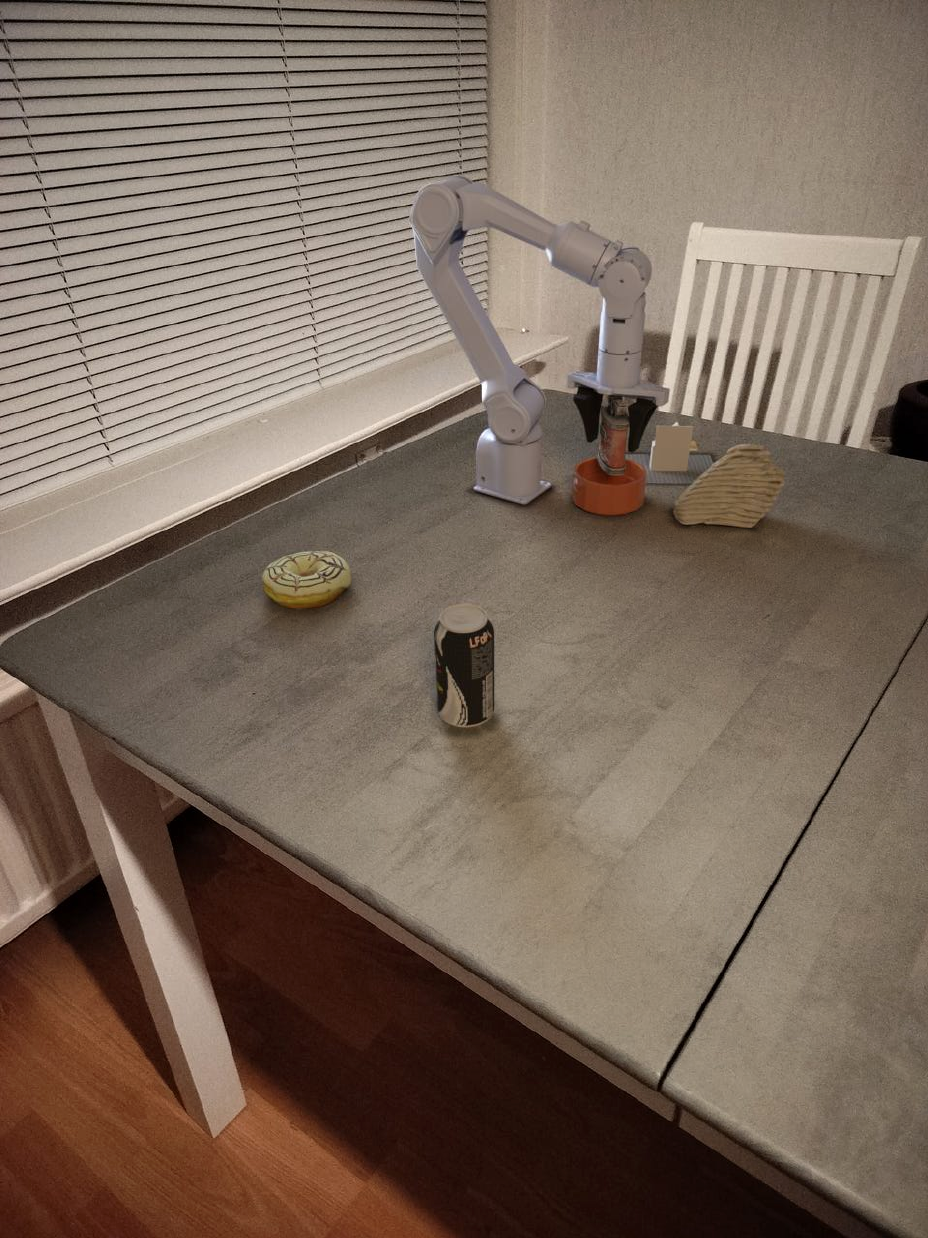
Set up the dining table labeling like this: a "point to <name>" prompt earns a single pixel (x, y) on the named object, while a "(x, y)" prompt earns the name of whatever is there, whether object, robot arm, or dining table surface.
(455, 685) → the beverage can
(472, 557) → the dining table surface
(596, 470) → the bowl
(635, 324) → the robot arm
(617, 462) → the lighter
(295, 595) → the decorated donut
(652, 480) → the architectural model
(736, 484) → the fossil tooth
